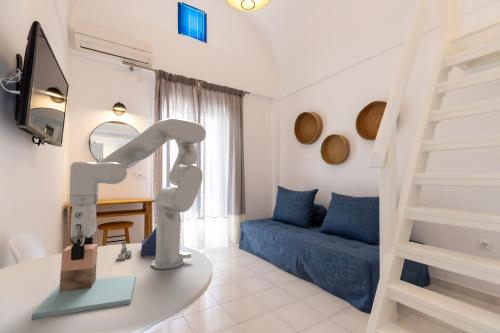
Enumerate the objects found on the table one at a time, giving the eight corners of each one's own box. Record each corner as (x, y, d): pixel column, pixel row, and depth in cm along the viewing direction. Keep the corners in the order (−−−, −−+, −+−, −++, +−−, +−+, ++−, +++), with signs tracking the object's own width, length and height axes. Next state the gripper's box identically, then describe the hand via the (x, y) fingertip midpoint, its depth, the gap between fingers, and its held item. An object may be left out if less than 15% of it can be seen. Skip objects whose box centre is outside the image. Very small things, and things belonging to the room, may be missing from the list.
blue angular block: (141, 249, 117) (142, 224, 117) (167, 246, 121) (168, 223, 122) (141, 256, 106) (142, 229, 106) (169, 253, 110) (170, 227, 111)
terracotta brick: (96, 262, 78) (97, 243, 78) (92, 268, 73) (93, 248, 73) (67, 265, 75) (68, 245, 75) (60, 271, 70) (62, 250, 70)
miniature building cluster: (136, 261, 100) (137, 243, 100) (113, 263, 98) (114, 244, 98) (141, 255, 109) (142, 238, 109) (120, 256, 107) (121, 238, 107)
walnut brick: (95, 280, 78) (96, 262, 78) (91, 288, 72) (92, 268, 73) (66, 284, 75) (67, 265, 75) (59, 292, 70) (60, 271, 70)
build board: (135, 278, 83) (135, 274, 83) (130, 303, 66) (130, 299, 66) (59, 287, 75) (59, 283, 75) (31, 319, 58) (31, 314, 58)
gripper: (90, 203, 68) (89, 262, 68) (103, 197, 84) (102, 245, 84) (59, 204, 66) (57, 266, 65) (78, 198, 82) (77, 247, 81)
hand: (82, 254), depth 74 cm, fingers open, 9 cm apart
